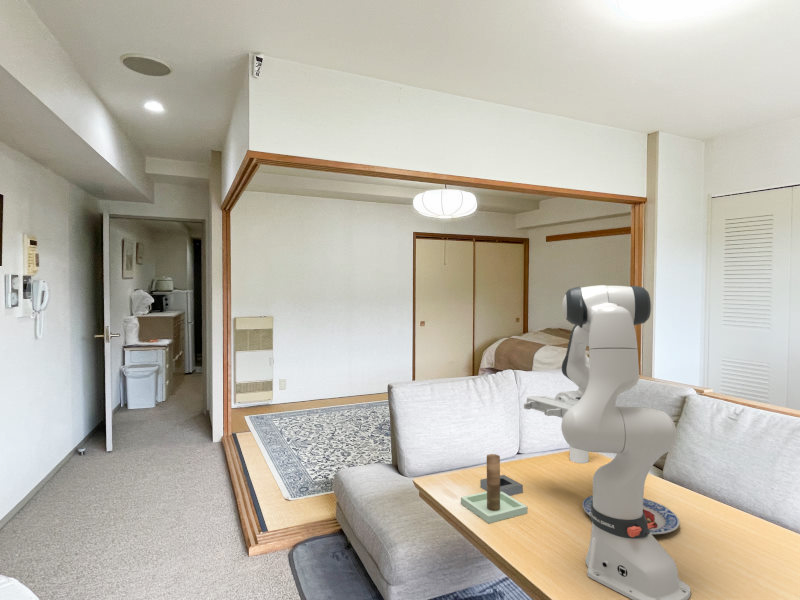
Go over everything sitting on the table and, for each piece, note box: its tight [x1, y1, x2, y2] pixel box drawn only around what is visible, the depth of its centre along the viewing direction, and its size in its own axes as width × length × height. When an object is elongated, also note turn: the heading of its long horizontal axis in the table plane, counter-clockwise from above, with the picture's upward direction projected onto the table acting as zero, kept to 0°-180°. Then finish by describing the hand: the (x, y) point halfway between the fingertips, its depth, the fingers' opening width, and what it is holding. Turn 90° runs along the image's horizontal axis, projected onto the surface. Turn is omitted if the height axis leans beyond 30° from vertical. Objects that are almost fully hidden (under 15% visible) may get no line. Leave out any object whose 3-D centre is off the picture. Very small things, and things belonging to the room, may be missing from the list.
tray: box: [460, 490, 529, 524], centre depth 143 cm, size 14×14×2 cm
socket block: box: [479, 474, 524, 497], centre depth 157 cm, size 10×10×3 cm
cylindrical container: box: [569, 445, 589, 464], centre depth 186 cm, size 7×7×25 cm
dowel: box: [486, 453, 501, 511], centre depth 143 cm, size 4×4×16 cm
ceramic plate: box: [582, 494, 680, 535], centre depth 138 cm, size 26×26×3 cm
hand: (535, 409), depth 147 cm, fingers open, 8 cm apart
